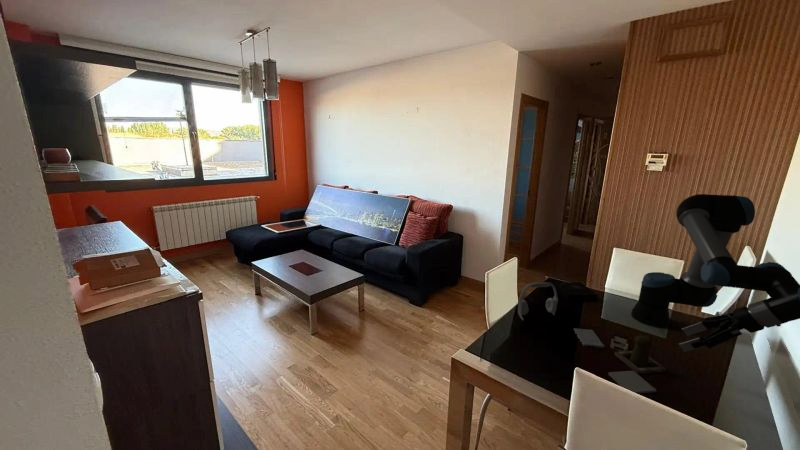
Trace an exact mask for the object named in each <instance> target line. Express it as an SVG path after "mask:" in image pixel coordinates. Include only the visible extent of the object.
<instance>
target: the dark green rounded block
mask: <svg viewBox="0 0 800 450" xmlns="http://www.w3.org/2000/svg"><path fill="white" fill-rule="evenodd" d="M634 342H635V345H634V347H633V350H632V351H633V352H632V355H631V356H629V361H630V362H632V363H633V364H634V365H635V366H636V367H638V368H647V367H649V357H650V348H651V347H652V345H653V342H652V339H650V338H649V337H647V336H644V335H637V336H636V337H635V339H634Z"/></svg>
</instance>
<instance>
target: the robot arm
mask: <svg viewBox="0 0 800 450" xmlns="http://www.w3.org/2000/svg"><path fill="white" fill-rule="evenodd" d="M675 213H676V214H675V215H676V219H677V221H678V223H679V225H680V226H682V227H684V228H685V230H686V232H687V233H688V235H689V237H690V239H691V241H692V243H693V245H694V246H695V249H696V250H695V252H694V254H693V256H692V259H691V262H690V264H689V266H688V269H687V271H686V272H682V273H681V275H680V278H676V277H675V276H674V275H673V274H671V273H665V272H658V271H655V272H652V271H651V272H648V273H645V274H643V278H642V281H641V286H640V291H639V296H638V301H637V303H635V305H634V307H633V308H632V309H631V313H630V314H631V317H632V318H633V319H634V320H636V321H638V322H639V323H642V324H645V325H647V326H651V327H656V328H667V327H669V326H670V324H671V318H670V311H669V307H670V304H676V305H677V304H679V305H686V306H693V307H697V308H700V307H701V308H708V307H711V306H712V305H713V304H714V303H715V302H716V300H717V298H718V295H717V294H718V291H719V290H718V287H725V288H735V289H743V290H751V291H759V292H766V294H767V295H768V296H769V297H768V298H765V299H762V300H759V301H756V302H753V303H750V304H748V305H747V306H741V307H739V308H736V309H733V310H732V312H729V313H725V314H721V315H715V316H709V317H705V318H703V319H704V320H701V321H700V322H696V323H695V324H691V325H688V326H685V327H682V328H681V330H682V331H683V333H684V334H685V335H686V336H687V337H688V336H691V335H695V334H698V333H700V332H704V331H706V330H712V328H713V329H715V330H712V331H711V332H710V333H707V335H705V336H698V337H697V338H696V337H695V338H693V339H690V340H687V341H684V342H680V343H678V346H679V347H680V348H681V350H682V351H683V352H685V353H686V352H690V351H694V350H696V349H699V348H703V347H707V348H708V349H712V348H714V347H715V346H718V345H720V344H723V343H725V342H727V341H729V340H730V339H731V340H732V339H733V338H736V337H739V336H741V335H743V333H742V330H746V331H747V332H749V333H750V334H751V333H755V332H756V333H757V332H760V331H763V330H765V328H767V329H770V328H772V327H775V326H776V327H781V326H782V325H783V324H786V323H788V322H792V321H797V320H800V283H799V282H798V281H797V279H796V278H795V277H794V275H793V274H792V273H791V272H790V271H789V270H788V269H786V267H784V265H782V264H780V263H778V262H772V261H768V262H761V263H760V264H757V265H756V266H749V265H739V264H737V262H736V261H735V260H734V258H733V256H732V255H731V253H730V251H729V250H728V248H727V246H728V244H729V242H730V239H731V237H732V235H733V234H736V233H739V231H740V230H741V228H742V226H745V227H746V226H749V225H751V224H752V223H753V221H754V220H755V217H756V216H755V215H756V208H755V204H754V203H753V201H752V200H751V199H750V198H749V197H746V196H741V195H735V194H734V195H733V194H732V195H731V194H730V195H728V194H727V195H726V194H706V193H699V194H694V195H690V196H687V198H685V199H683V200H682V201H681V202H680V204H679V205H678V206H677V209H676V212H675Z"/></svg>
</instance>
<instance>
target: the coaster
mask: <svg viewBox="0 0 800 450" xmlns="http://www.w3.org/2000/svg"><path fill="white" fill-rule="evenodd" d="M607 375H608V376H609V377H610V378H611V379H612V380H614V382H616V384H618V385H619V386H620V387H621V386H622V387H625V388H627V389H629V390H631V391H633V392H636V393H638V394H639V395H641V394H652V393H657V389H656V388H655V387H654V386H652V385H651V384H650V383H649V382H647V381H646V380H645V379H644V378H642V377H641V376H640V375H639V374H637V373H636V372H635V371H634V370H625V371H623V370H622V371H609V372H608V373H607ZM622 387H621V388H622ZM638 394H637V395H638Z"/></svg>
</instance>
